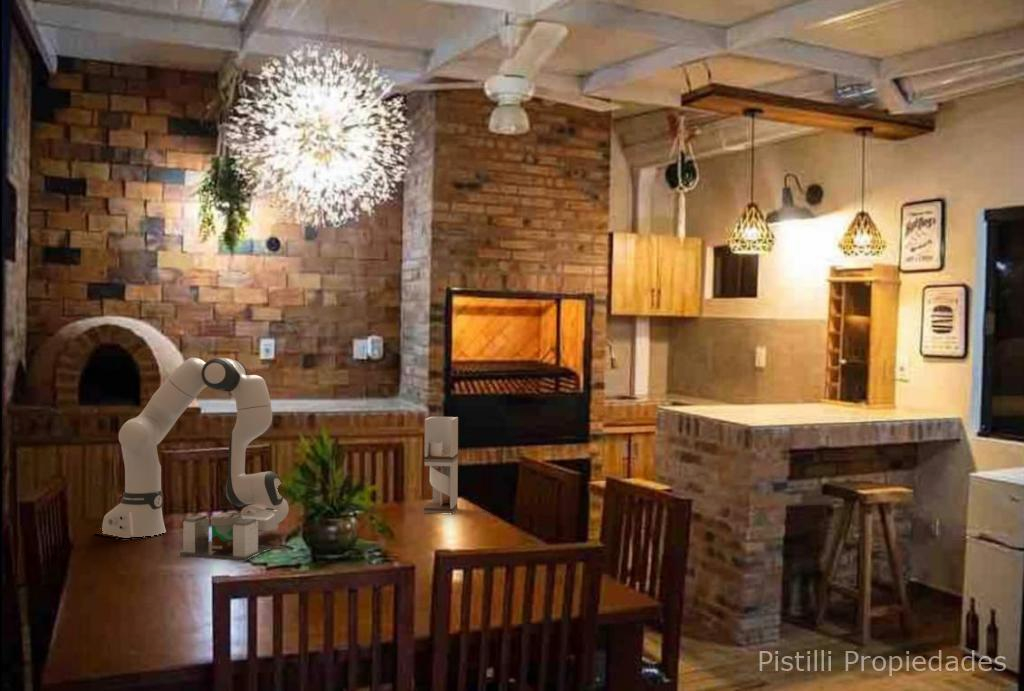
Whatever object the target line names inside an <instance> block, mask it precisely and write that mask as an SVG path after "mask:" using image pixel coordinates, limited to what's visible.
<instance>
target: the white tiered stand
mask: <svg viewBox="0 0 1024 691" xmlns="http://www.w3.org/2000/svg"><path fill="white" fill-rule="evenodd" d="M458 448H459V417H458V416H455V417H454V416H429V417H427V418H425V419H424V467H429V483H430V485H431V487H432V501H431V502H429V503H428V504H427V505H426V506H424V508H423V509H424V510H423V511H424V512H423V513H424V514H425V513H451V514H450V515H453V514H454V513H455V512H456V511H457V510H456V509H458V503H459V502H458V501H459V500H458V497H459V496H458V493H459V492H458V489H459V487H458V486H459V485H458V484H459V483H458V480H459V479H458V478H459V476H458V475H459V474H458V472H459V470H458V469H459V464H458V463H459V462H458V461H459V460H458V459H459V449H458ZM455 510H456V511H455ZM454 511H455V512H454ZM453 512H454V513H453Z"/></svg>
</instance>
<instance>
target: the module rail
mask: <svg viewBox="0 0 1024 691" xmlns="http://www.w3.org/2000/svg"><path fill="white" fill-rule="evenodd" d="M182 523H183V524H182V531H183V533H182V534H183V535H182V537H183V538H182V539H183V540H182V544H183V545H182V548H183V549H182V551H180V552H179V556H182V557H193V558H203V557H204V558H206V559H219V560H228V559H229V560H230V561H239V560H246V559H248V558H250V557H252V556H253V555H255V554H257V553H259V552H261V551H264V550H267V549H271V548H272V549H273V546H271V545H260V544H259V531H258V522H257V521H256V519H244V520H241V521H238V522H235V525H233V550H232V551H212V540H211V541H210V538H209V537H210V535H209V534H210V531H209V530H210V518H209V517H208V516H207V515H200V514H198V515H193V516H191V517H190V516H189V517H187V518H185V520H184V521H183V522H182ZM229 560H228V561H229ZM246 561H247V560H246Z"/></svg>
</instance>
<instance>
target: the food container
mask: <svg viewBox="0 0 1024 691" xmlns="http://www.w3.org/2000/svg"><path fill="white" fill-rule="evenodd" d="M231 513H232V515H231V516H228V517H221V518H212V517H211V518H212V520H211V519H210V526H211V542H212V551H232V550H233V525H235V522H238V521H241V520H243V518H242V516H241V514H240V513H241V512H240V513H239V512H231Z"/></svg>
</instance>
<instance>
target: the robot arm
mask: <svg viewBox="0 0 1024 691" xmlns="http://www.w3.org/2000/svg"><path fill="white" fill-rule="evenodd" d="M266 383H267V382H266V381H265V379H264V377H262V376H260V375H257V374H249V375H248V370H247V368H246V367H245V365H244V364H243V363H242V362H240V361H238V360H235V359H233V358H229V357H213V358H211V359H209V360H207V361H204V360H203V359H201V358H198V357H190V358H187V359H186V360H185V361H184V362H182V363H181V364H180V365H179V366H178V367H177V368H176V369H175V370H174V371H172V372H171V373H170V375H169V376H168V377H167V378H166V379H165V380H164V382H163V383H162V384H161V385H160V386H159V388H157V390H156V391H155V392H154V393H153V395H152V396H151V398H150V399H149V401H148V403H147V404H146V406H145V407H144V408H143V409H142V411H141V413H140V414H138V415H137V416H136V417H133V418H130V419H128V420H127V421H126V422H124V424H123V425H122V426H121V428H120V429H119V432H118V441H119V443H120V446H121V454H122V458H123V464H124V491H123V492H122V493H119V494H118V493H117V496H118V497H117V499H120V498H121V499H120V503H118V504H117V505H116V506H115V507H113V508H112V509H110V511H108V512H107V513H106V514H105V515H104V517H103V520H102V525H101V526H102V527H101V528H102V531H103V532H102V533H103V534H108V535H113V536H118V537H123V538H130V537H143V536H144V537H143V538H146V537H145V536H151V537H155V536H154V535H157V536H160V535H159V534H161V535H163V534H162V533H164V534H165V533H167V530H166V527H165V526H166V525H165V522H164V517H163V510H162V505H163V490H162V466H161V463H160V458H159V454H158V447H157V446H158V445H159V444H161V442H162V441H163V440H164V439H165V437H166V436H167V435H168V433H169V432H170V431H171V429H172V428H173V426H174V425H175V424H176V422H177V421H178V419H179V418H180V417H181V415H182V414H183V413H184V412H185V411H186V410H187V408H188V407H189V406H190V405H191V404H192V403H193V401H195V399H196V398H197V397H198V395H199V394H200V393H201V392H202V391H203V390H204V389H206V388H207V387H208V388H209V389H212V390H214V391H218V392H224V393H225V392H227V393H231V394H232V395H233V397H234V399H235V404H236V406H235V407H236V421H235V425H234V427H233V428H232V429H231V431H230V433H229V434H230V435H229V440H228V441H229V442H228V461H227V462H228V464H227V465H228V466H227V467H228V468H227V480H226V484H225V496H226V499H227V500H228V501H229V503H231V504H232V505H233V506H235V507H238V508H239V507H242V509H241V511H240V514H241V516H242V518H243V520H244V519H256V521H257V522H258V533H260V532H272V531H278V529H279V524H280V523H281V522H282V521H284V520H285V519H286V517H288V514H289V510H290V508H289V504H288V501H287V500H286V498H284V497H282V496H281V495H280V494H279V492H278V489H277V488H278V486H279V485H280V484H281V482H282V483H283V481H282V479H281V478H280V476H279V475H278V474H277V473H275V472H274V471H272V470H269V471H262V472H256V473H249V474H247V473H246V450H247V449H248V448H247V447H248V446H249V444H250V443H251V442H252V441H253V440H255V439H257V438H258V437H260V436H261V435H263V434H264V433H266V431H267V430H268V429H269V428H270V426H271V425H272V422H273V411H272V403H271V397H270V392H269V389H268V385H267V384H266ZM231 515H232V512H221V513H216V514H213V515H212V516H211V519H210V521H211V520H212V518H221V517H228V516H231Z"/></svg>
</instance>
